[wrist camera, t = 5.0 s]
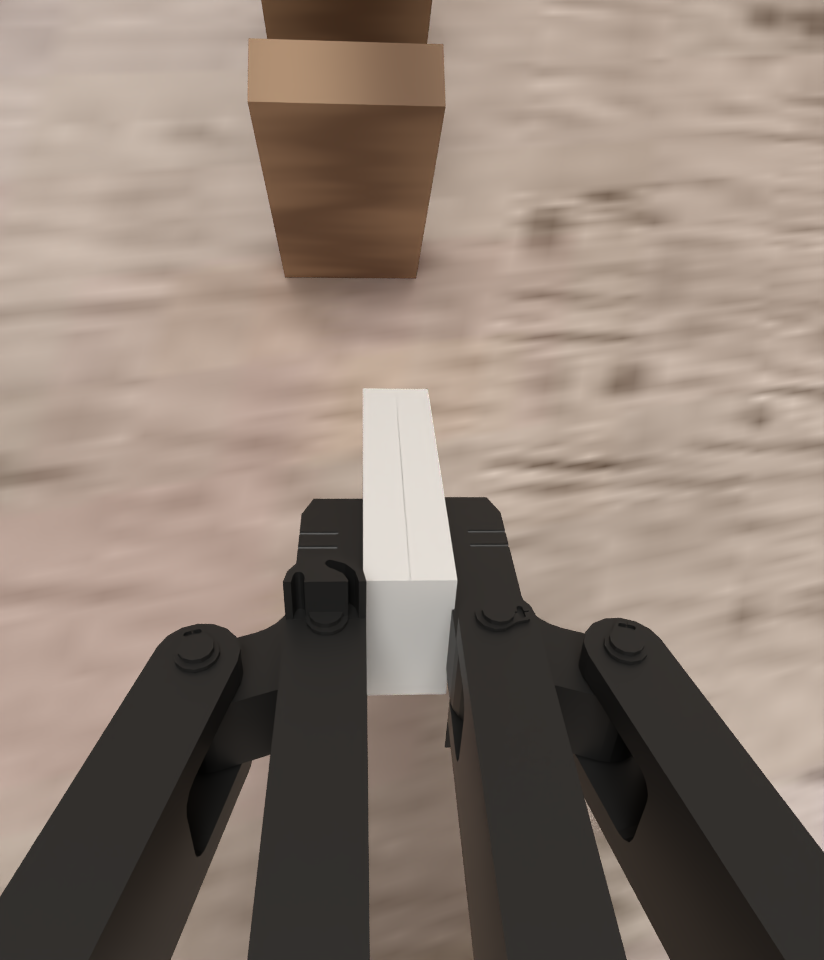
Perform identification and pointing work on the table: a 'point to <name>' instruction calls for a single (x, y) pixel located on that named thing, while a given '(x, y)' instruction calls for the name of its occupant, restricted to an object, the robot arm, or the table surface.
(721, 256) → the table surface
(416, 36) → the domino
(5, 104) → the table surface
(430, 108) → the domino
